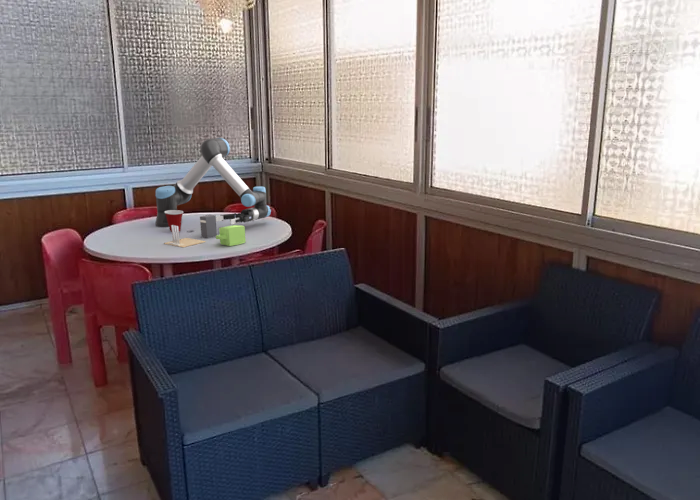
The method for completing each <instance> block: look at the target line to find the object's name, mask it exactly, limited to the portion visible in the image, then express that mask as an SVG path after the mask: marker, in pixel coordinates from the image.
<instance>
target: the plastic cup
mask: <svg viewBox="0 0 700 500" xmlns="http://www.w3.org/2000/svg"><path fill="white" fill-rule="evenodd" d="M165 214H166V217H167V221H168V225H169V227H168V229H169V231H170V232H171V233H172V227H171V225H173V227H174V226H178V230H179V232H181V230H182V220H183V214H184V211H183V210H178V209H177V210H168V211H165ZM176 233H177V230H176Z"/></svg>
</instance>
